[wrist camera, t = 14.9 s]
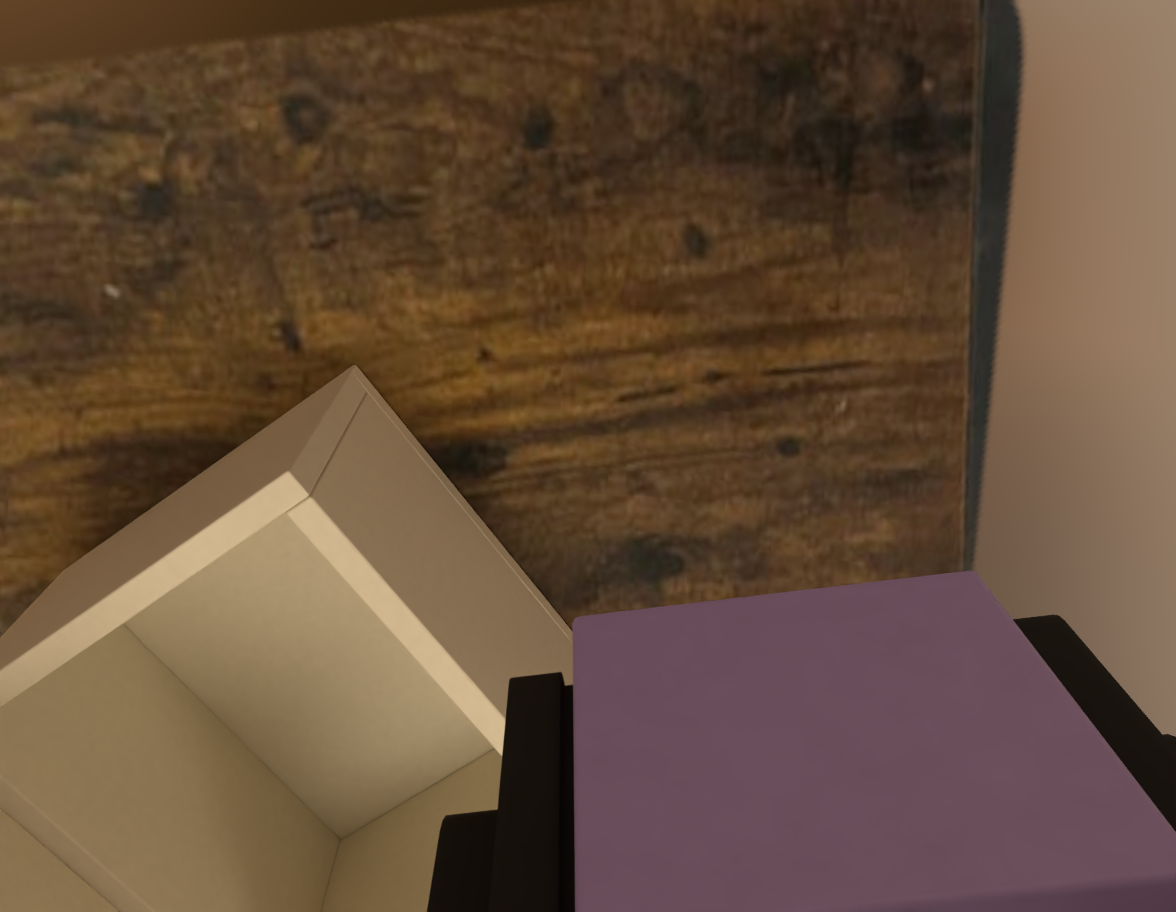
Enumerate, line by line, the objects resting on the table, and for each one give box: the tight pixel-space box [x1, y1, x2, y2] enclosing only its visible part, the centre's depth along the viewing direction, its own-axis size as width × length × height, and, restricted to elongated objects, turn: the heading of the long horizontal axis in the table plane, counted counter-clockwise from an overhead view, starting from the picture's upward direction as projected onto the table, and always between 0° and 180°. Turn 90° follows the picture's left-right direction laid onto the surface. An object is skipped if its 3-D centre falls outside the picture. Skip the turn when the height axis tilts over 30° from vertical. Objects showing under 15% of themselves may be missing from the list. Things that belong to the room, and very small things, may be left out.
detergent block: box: [573, 571, 1176, 912], centre depth 9 cm, size 4×4×4 cm
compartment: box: [0, 365, 573, 912], centre depth 32 cm, size 13×15×9 cm
